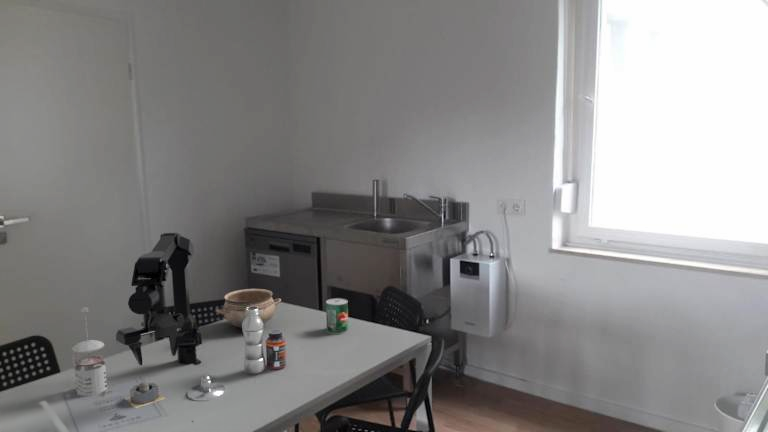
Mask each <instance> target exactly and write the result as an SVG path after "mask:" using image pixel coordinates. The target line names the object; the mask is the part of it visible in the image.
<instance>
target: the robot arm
mask: <svg viewBox="0 0 768 432" xmlns="http://www.w3.org/2000/svg"><path fill="white" fill-rule="evenodd" d="M194 251H195V250H194V244H193V242H192V241H191V240H190V239H189V238H187V237H184V236H182V235H181V233H179V232H164V233H161V234H160V238H159V240H158V241H157V242H156V244H155V245H154V247H153V248H152V250H151V251H149V252H147V253H143V254H142V255H140V256H139V257H138V258H137V260H136V261H135V262H134V267H133V271H132V272H133V273H132V279H131V282H130V283H131V284H130V285H131V287H135V292H133V293H132V294H131V295H130V296H129V298H128V301H127V304H128V308H129V310H130V311H131V312H133V313H134V314H136V315H142V318H143V319H142V320H143V321H141V323H140V325H141V328H139V329H137V328H135V327H133V326H129V327H126V328H121V329H118V330H117V332H116V334H115V337H116V338H115V340H116V341H117V342H118V343H120V344H123V345H124V346H128V348H129V349H130V351H131V352H132V354H133V357H134V358H135V360H136V361H137V364H138V365H139V366H143V354H142V344H143V342H142V341H140V340H142V337H144V336H149V335H151V334H157V336H158V338H162V339H163V338H166V337H168V341H169V345H170V352H171V356H172V357H175V356H176V355H177V359H176V360H175V362H177V363H179V365H181V364H183V365H189V366H190V365H194V366H196V365H198V364H201V363H202V361H201V360H200V359H199V358H197V347H199V346H200V345H203V339H202V338H203V337H202V333H201V331H200V329H199V327H198V326H197V320H196V319H195V317H194V316H193V314H191V305H190V304H191V303H190V291H189V288H190V285H189V272H188V268H189V265H190V264H191V262H192V261H193V255H194ZM169 270H171V279H172V280H171V281H172V294H173V295H172V296H173V310H174V311H173V312H174V314H172V315H170V312H169V311H170V309H169V307H168V306H166V294H165V293H166V292H165V282H167V279H168V275H169ZM142 327H143V328H142Z"/></svg>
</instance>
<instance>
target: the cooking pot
mask: <svg viewBox="0 0 768 432" xmlns="http://www.w3.org/2000/svg"><path fill="white" fill-rule="evenodd" d="M272 296H273V292H272V291H271V290H270V289H269V290H268V289H263V288H245V289H239V290H238V289H237V290H234V291H231V292H228V293H227V294H225V295H224V299H225V300H224V301H225V302H224V304H223V308H216V309H215V312H216V313H219V314H222V315H223V317H224V319H225V320H226V321H227V322H228V323H229V324H230V325H232V326H235V327H237V328H240V329H242V324H243V321H244V320H245V318H246V317H247V315H246V308H248V307H258V312H259V314H258V316H259V317H260V319H261V320H262V322H263V325H265V324H266V323H268V322H269V321H270V320H272V318H273V316H274V315H275V312H276V306H277V305H279V304H280V303H281V301H282V299H281V298H276V299H274V298H273V297H272Z"/></svg>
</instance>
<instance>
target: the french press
mask: <svg viewBox="0 0 768 432" xmlns="http://www.w3.org/2000/svg"><path fill="white" fill-rule="evenodd" d="M80 311H81V313H84V319H85V329H86V340H83V341H81V342H78V343H76V344H75V345H74V346H72V347H71V350H72V351H73V354H72V363H73V367H74V373H75V374H74V377H75V386H76V387H75V388H76V394H77V395H78V396H82V397H88V396H89V397H90V396H95V395H98V394H101V393H103V392H105V391H106V390H107V389H108V381H107V372H106V371H107V369H106V362H105V361H104V356H101V355H90V353H92V352H96V351H99V350H101V349H103V348H104V346H105V343H104V342H103V341H100V340H95V339H89V334H88V323H87V313H88V312H89V311H90V310H89V307H87V306H86V307H82V308H81V309H80ZM75 353H76V354H77V355H78V359H76V361H75V359H74V358H75ZM86 353H87V354H88V356H83V357H80V355H81V354H86ZM96 365H97V366H96ZM83 379H84V380H83Z"/></svg>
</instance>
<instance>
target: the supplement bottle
mask: <svg viewBox="0 0 768 432" xmlns="http://www.w3.org/2000/svg"><path fill="white" fill-rule="evenodd" d="M265 346H266V348H265V349H266V350H265V352H266V353H265V355H266V367H267V369H270V370H276V371H277V370H282V369H284V368H285V367H286V366H287V353H286V350H287V348H286V338H285V337H284V336H283V331H282V330H281V329H272V330H269V331H268V337H267V338H266V340H265Z"/></svg>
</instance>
